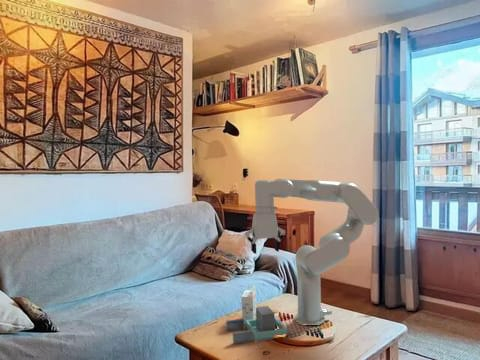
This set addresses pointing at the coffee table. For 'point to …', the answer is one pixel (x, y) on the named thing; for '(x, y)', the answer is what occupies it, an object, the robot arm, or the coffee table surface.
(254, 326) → the tray
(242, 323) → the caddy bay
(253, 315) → the ink cartridge box
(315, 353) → the coffee table surface
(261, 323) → the grey upright block
